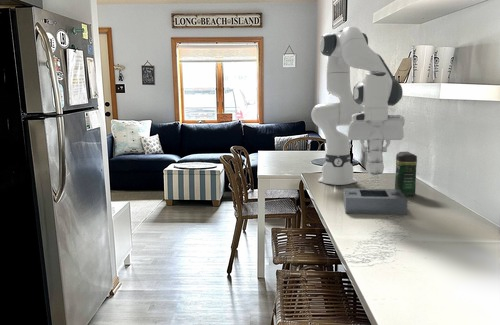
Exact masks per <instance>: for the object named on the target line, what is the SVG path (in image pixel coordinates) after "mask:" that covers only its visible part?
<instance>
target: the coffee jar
mask: <svg viewBox="0 0 500 325" xmlns="http://www.w3.org/2000/svg"><path fill="white" fill-rule="evenodd" d="M417 163H418V156H417V155H415V154H414V153H411V152H410V151H399V152H397V154H396V156H395V178H394V189H400V190H401V191H402V193H403V194H404V195H405V197H412V196H415V195H416V186H417V185H416V184H417V166H418V165H417Z"/></svg>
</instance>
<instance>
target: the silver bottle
mask: <svg viewBox="0 0 500 325" xmlns="http://www.w3.org/2000/svg"><path fill="white" fill-rule="evenodd" d="M373 127H375V129H374V131H372V132H371V134H370V135H369V140H366V143H367V160H366V164H365V171H366V173H367V174H370V175H373V176H375V175H382V174H383V173H384V170H385V166H384V160H383V159H384V158H383V153H384V152H383V151H382V150H383V147H384V141H385V140H383V134H382V133H381V132H380V131H379V129H378V127H380V126H378V125H375V126H373Z"/></svg>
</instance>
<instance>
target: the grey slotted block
mask: <svg viewBox="0 0 500 325" xmlns="http://www.w3.org/2000/svg"><path fill="white" fill-rule="evenodd" d="M342 202H343V207H344V212H345V214H355V215H357V214H361V215H362V214H363V215H399V216H400V215H403V216H404V215H407V214H408V212H407V211H408V198H407V196H405V195H404V194H403V193H402V191H401V190H400V189H395V188H354V187H353V188H349V187H346V188H345V187H344V188H343V201H342Z"/></svg>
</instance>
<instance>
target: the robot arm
mask: <svg viewBox="0 0 500 325" xmlns="http://www.w3.org/2000/svg"><path fill="white" fill-rule="evenodd" d="M319 50H320V53H321V55H323V56H326V57H327V58H328V59H327V64H326V90H327V92H328V93H329V94H330V95H332V96H334V97H336V98H338V99H339V102H328V103H327V102H325V103H324V102H323V103H320V104H315V105H314V106H313V108H312V110H311V114H310V117H311V120H312V122H313V123H314V124H315V125H316V126H317V127H318V128H320V130H321V131H322V133H323V135H324V137H325V144H326V145H325V146H326V148H325V150H326V154H325V157H324V158H325V160H324V161H325V162H324V163H323V165H322V167H321V176H320V177H319V178H318V183H324V184H326V185H327V184H328V185H332V186H333V185H335V186H336V185H337V186H338V185H339V186H340V185H341V186H343V185H349V184H355V183H357V182H358V180H357V179H356V178H355V177H354V165H353V164H352V163H351V154H350V141H359V143H360V145H361V146H362V151H363V153H368V146H366V145H364V144H365V141H367V140H369V135H370V134H371V132H372V131H374V129H375V127H373V126H375V125H378V126H380V127H378V129H379V131H380V132H381V133H382V134H383V140H384V141H385V143H386V144H385V145H384V146H383V150H382V151H383V152H382V153H387V152H388V147H389V146H390V144H391V141H402V140H403V139H404V137H405V135H404V134H405V133H404V125H405V117H403V116H402V115H400V114H397V115H396V114H389V107H394V106H395V105H396V104H398V103H399V102H400V101H401V99H402V97H403V94H404V93H403V87H402V84H401V83H400V82H399V81H398V80H397V79H396V77H395V76H394V75H393V73H392V71H391V70H390V69H389V67H388V66H387V63H386V62H385V60H384V59H383V58H382V56H381V55H380V54H378V53H377V52H375V50H373V49H372V48H371V47H370V46H369V38H368V36H367V34H366V33H363V32H362V31H361V30H360V29H359V28H358V27H357V26H352V25H351V26H347V27H345V28H343V30H341V31H336V32H326V33H324V34H322V36H321V37H320V40H319ZM350 68H354V69H357V70H364V71H368V72H366V74H365V76H364V79H363V80H360V81H358V82H357V83H356V84H355V86H353V90H352V88H351V69H350ZM352 91H353V92H352ZM338 126H339V127H343V126H344V127H346V126H348V130H347V134H345V133H343V132H341V131H339V130H338V128H337V127H338Z"/></svg>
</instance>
